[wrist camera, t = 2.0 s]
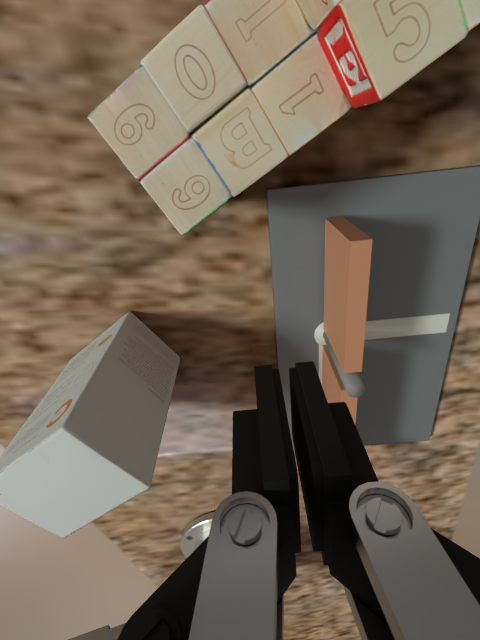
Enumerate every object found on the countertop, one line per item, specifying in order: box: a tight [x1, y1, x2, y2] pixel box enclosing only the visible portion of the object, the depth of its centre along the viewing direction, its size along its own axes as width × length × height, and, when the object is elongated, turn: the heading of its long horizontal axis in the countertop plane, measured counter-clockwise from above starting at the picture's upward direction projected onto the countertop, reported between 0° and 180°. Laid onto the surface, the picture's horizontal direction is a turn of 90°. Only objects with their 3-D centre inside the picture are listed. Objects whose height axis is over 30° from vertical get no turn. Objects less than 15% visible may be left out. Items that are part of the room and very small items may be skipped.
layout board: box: [266, 165, 480, 451], centre depth 29 cm, size 26×15×1 cm, turn 6°
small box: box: [0, 312, 180, 538], centre depth 25 cm, size 8×6×13 cm
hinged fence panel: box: [323, 216, 373, 398], centre depth 23 cm, size 10×1×7 cm, turn 6°
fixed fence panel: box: [322, 345, 358, 425], centre depth 29 cm, size 12×2×7 cm, turn 6°
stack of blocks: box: [88, 0, 480, 235], centre depth 15 cm, size 21×6×12 cm, turn 125°
